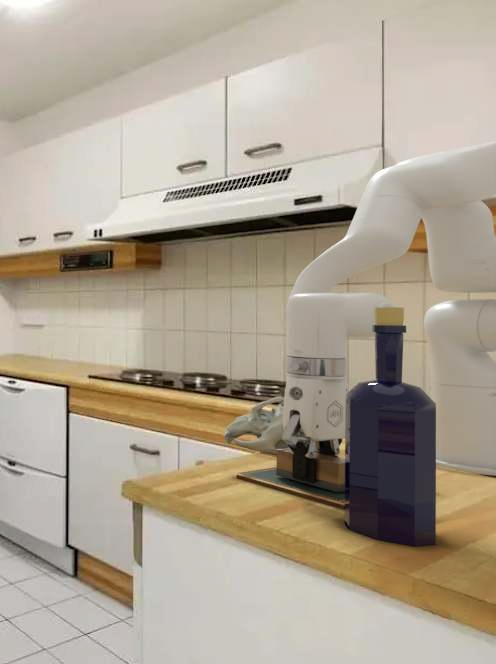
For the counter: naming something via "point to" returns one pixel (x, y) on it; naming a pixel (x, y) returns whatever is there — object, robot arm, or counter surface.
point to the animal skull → (260, 428)
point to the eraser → (327, 470)
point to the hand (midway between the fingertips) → (314, 477)
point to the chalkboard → (297, 485)
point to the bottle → (390, 447)
